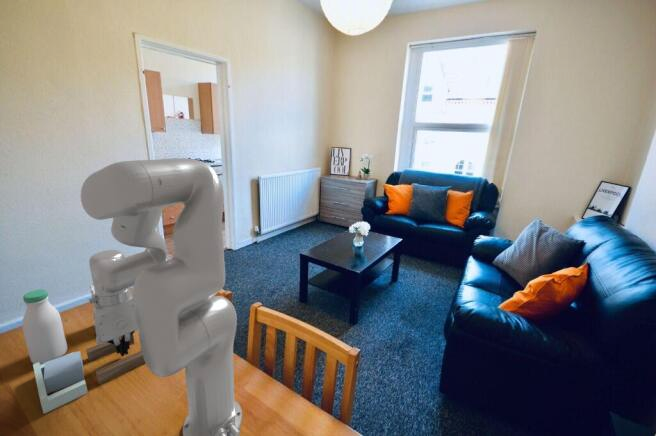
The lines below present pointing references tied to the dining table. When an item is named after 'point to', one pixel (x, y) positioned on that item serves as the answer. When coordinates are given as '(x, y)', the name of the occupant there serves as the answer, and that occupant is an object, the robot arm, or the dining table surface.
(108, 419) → the dining table surface
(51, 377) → the block
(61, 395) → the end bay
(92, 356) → the brown parallel rails
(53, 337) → the milk bottle
